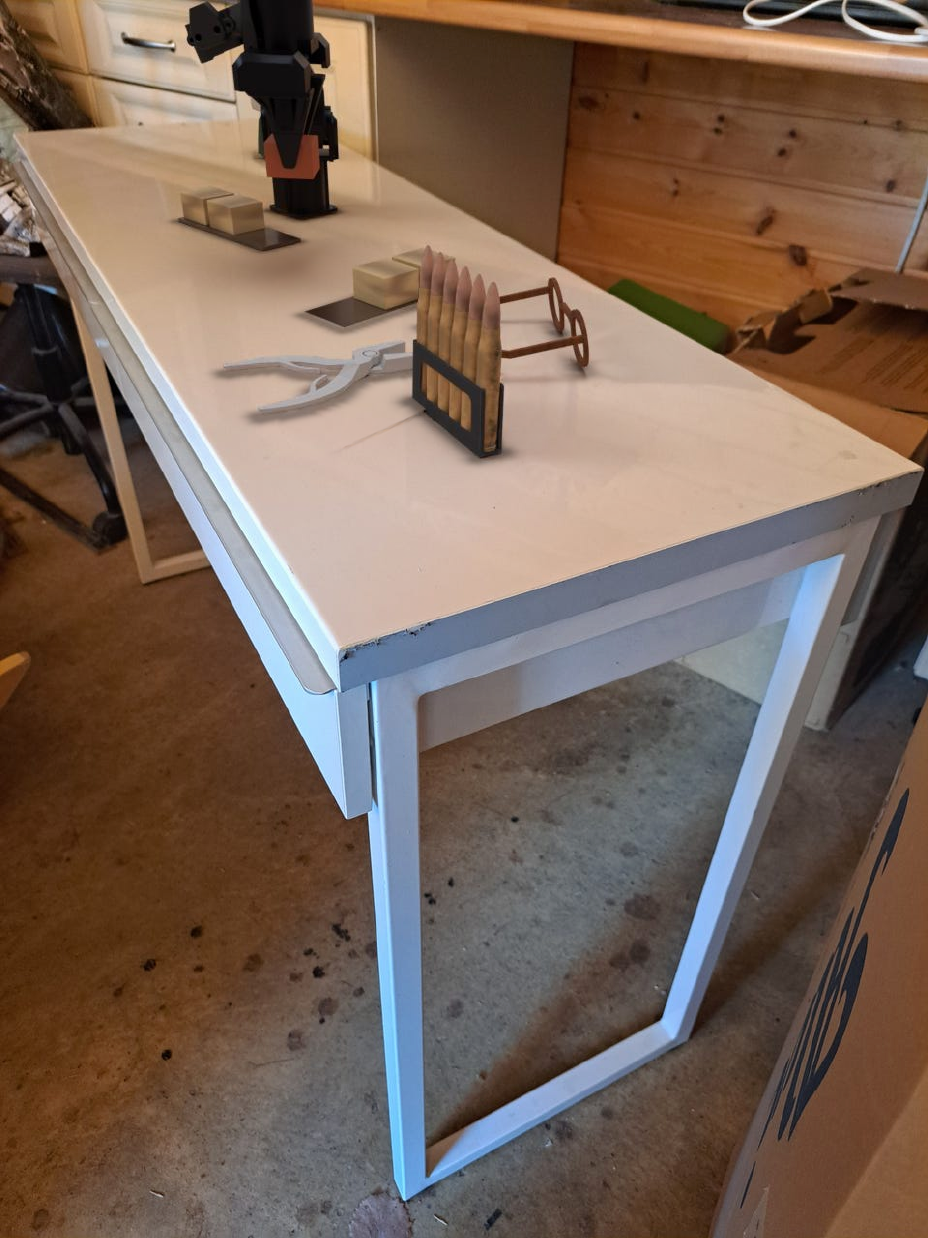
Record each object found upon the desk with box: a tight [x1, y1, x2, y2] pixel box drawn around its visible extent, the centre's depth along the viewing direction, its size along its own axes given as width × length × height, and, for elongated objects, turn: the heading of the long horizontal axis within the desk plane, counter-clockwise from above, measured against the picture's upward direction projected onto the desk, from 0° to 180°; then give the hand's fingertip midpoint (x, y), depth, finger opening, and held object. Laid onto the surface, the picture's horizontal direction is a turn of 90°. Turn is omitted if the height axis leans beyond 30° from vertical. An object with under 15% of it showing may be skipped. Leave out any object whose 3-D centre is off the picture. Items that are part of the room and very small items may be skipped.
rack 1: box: [177, 185, 301, 252], centre depth 104 cm, size 16×6×3 cm, turn 49°
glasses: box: [499, 277, 590, 368], centre depth 77 cm, size 13×13×5 cm
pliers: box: [222, 339, 413, 415], centre depth 72 cm, size 10×2×15 cm
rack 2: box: [304, 247, 456, 328], centre depth 86 cm, size 16×6×3 cm, turn 139°
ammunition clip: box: [411, 244, 505, 459], centre depth 63 cm, size 11×2×12 cm, turn 30°
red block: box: [264, 134, 320, 179], centre depth 87 cm, size 5×5×3 cm
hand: (293, 162), depth 87 cm, fingers closed on red block, 4 cm apart
